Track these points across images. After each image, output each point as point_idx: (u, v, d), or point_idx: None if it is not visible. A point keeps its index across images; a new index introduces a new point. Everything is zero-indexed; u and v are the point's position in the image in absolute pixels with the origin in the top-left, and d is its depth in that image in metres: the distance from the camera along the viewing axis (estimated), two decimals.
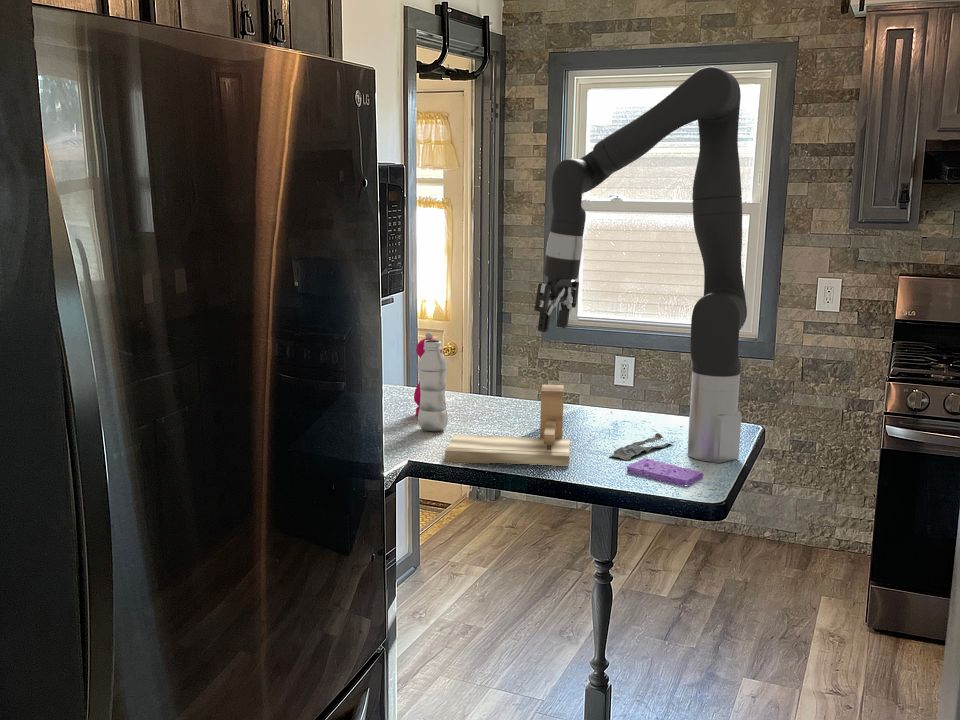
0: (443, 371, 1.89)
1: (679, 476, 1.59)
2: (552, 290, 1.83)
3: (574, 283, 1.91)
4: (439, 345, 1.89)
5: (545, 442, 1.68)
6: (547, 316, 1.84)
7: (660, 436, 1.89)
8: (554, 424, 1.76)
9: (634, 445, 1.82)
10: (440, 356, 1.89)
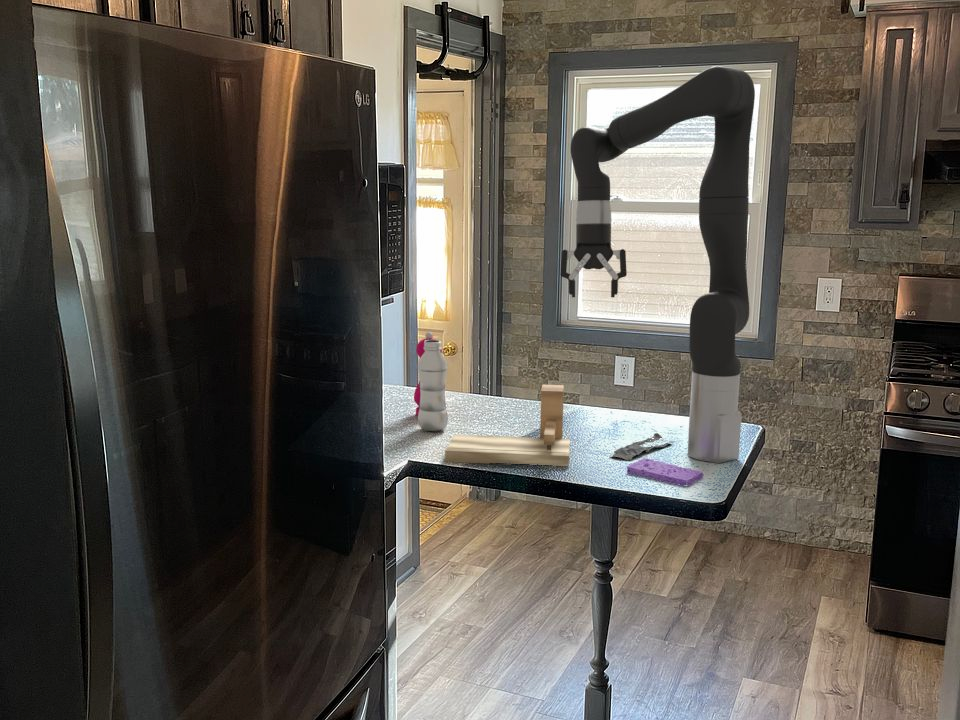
0: (443, 371, 1.89)
1: (679, 476, 1.59)
2: (575, 256, 1.90)
3: (619, 251, 1.89)
4: (439, 345, 1.89)
5: (545, 442, 1.68)
6: (571, 281, 1.90)
7: (659, 436, 1.89)
8: (554, 424, 1.76)
9: (634, 445, 1.82)
10: (440, 356, 1.89)
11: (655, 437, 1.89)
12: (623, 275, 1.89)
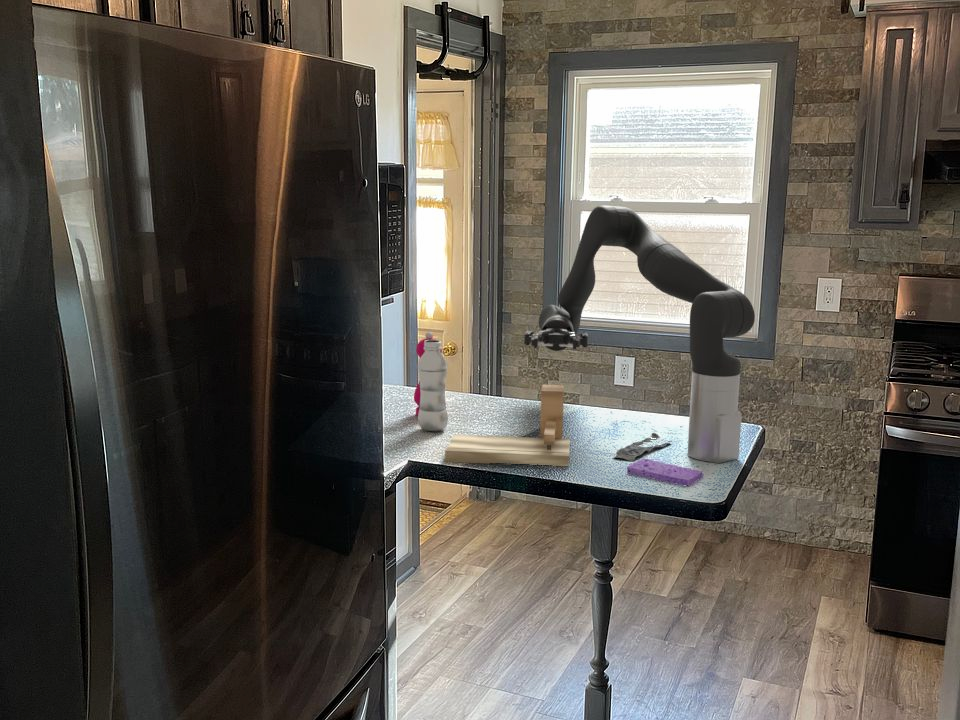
0: (443, 371, 1.89)
1: (680, 476, 1.59)
2: None
3: None
4: (439, 345, 1.89)
5: (545, 442, 1.68)
6: (534, 336, 1.95)
7: (657, 436, 1.89)
8: (554, 424, 1.76)
9: (634, 445, 1.82)
10: (440, 356, 1.89)
11: (653, 437, 1.89)
12: (584, 335, 1.95)
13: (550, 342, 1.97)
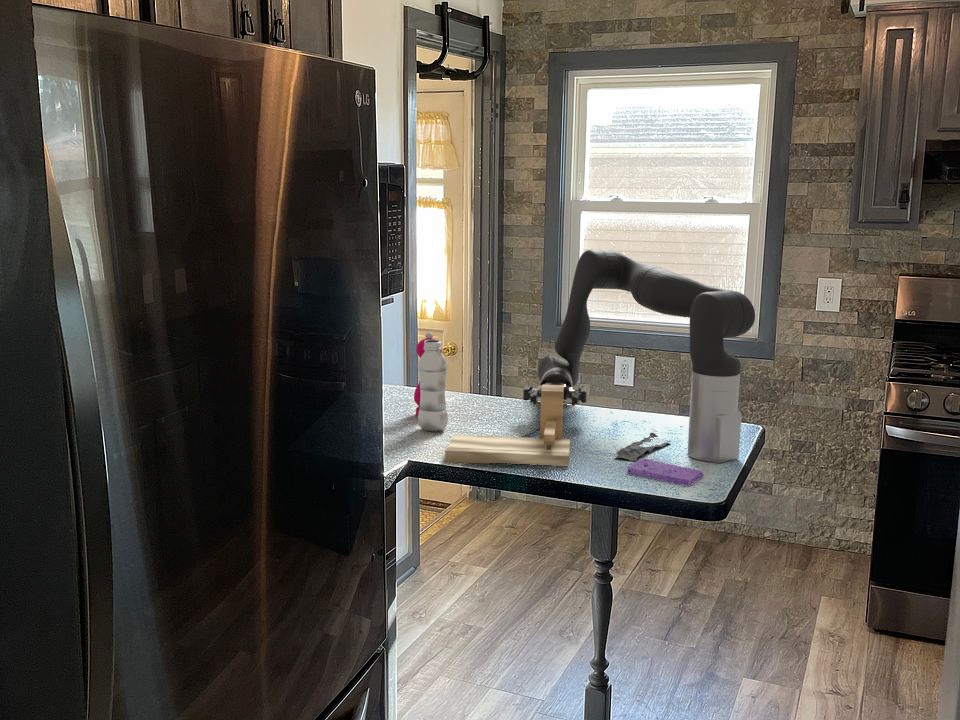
0: (443, 371, 1.89)
1: (681, 476, 1.59)
2: None
3: None
4: (439, 345, 1.89)
5: (545, 442, 1.68)
6: (533, 392, 1.96)
7: (655, 435, 1.89)
8: (554, 424, 1.76)
9: (634, 445, 1.82)
10: (440, 356, 1.89)
11: (651, 437, 1.89)
12: (583, 391, 1.96)
13: None
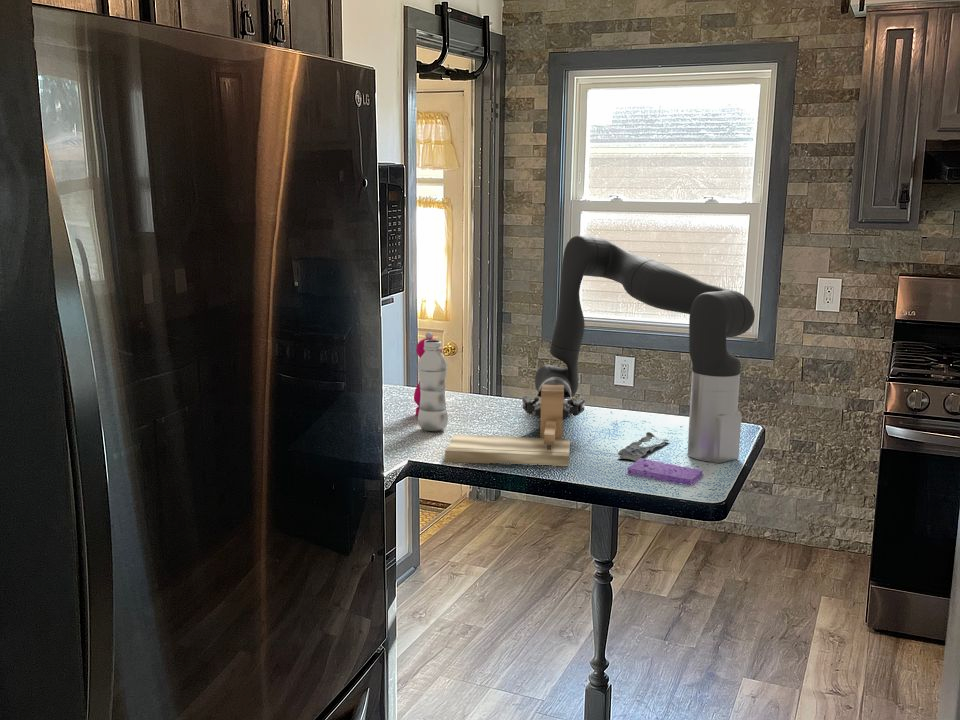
0: (443, 371, 1.89)
1: (682, 475, 1.59)
2: (536, 399, 1.89)
3: None
4: (439, 345, 1.89)
5: (545, 442, 1.68)
6: (538, 405, 1.83)
7: (652, 435, 1.90)
8: (554, 424, 1.76)
9: (633, 445, 1.82)
10: (440, 356, 1.89)
11: (648, 436, 1.89)
12: (575, 403, 1.84)
13: None
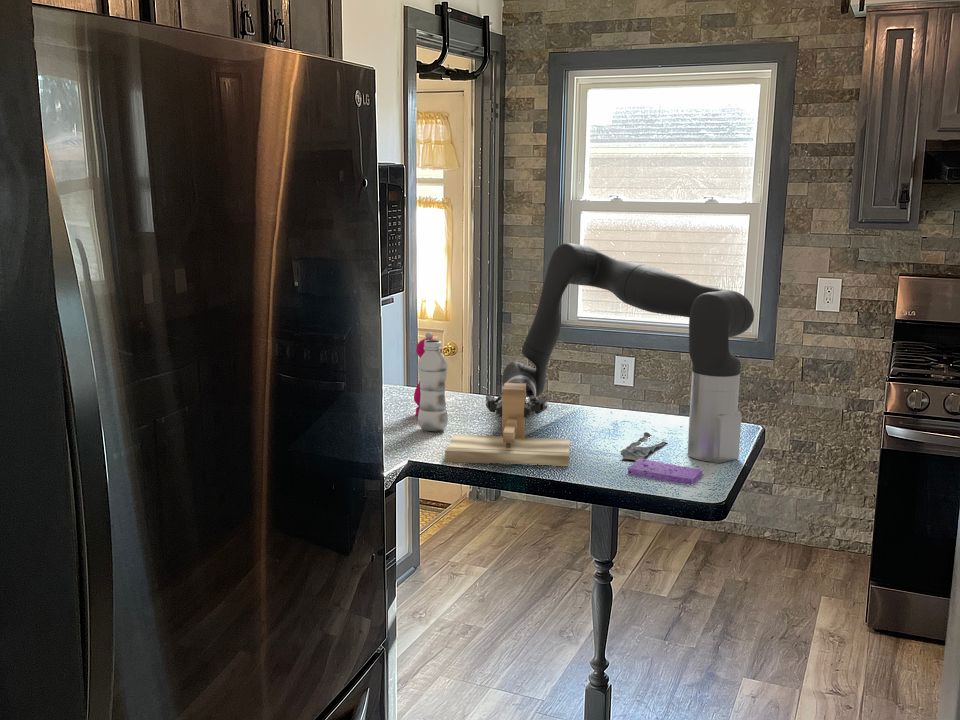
0: (443, 371, 1.89)
1: (683, 475, 1.60)
2: (499, 397, 1.90)
3: None
4: (439, 345, 1.89)
5: (504, 440, 1.69)
6: (500, 404, 1.84)
7: (649, 435, 1.90)
8: (515, 422, 1.77)
9: (633, 446, 1.82)
10: (440, 356, 1.89)
11: (646, 436, 1.89)
12: (537, 402, 1.85)
13: None
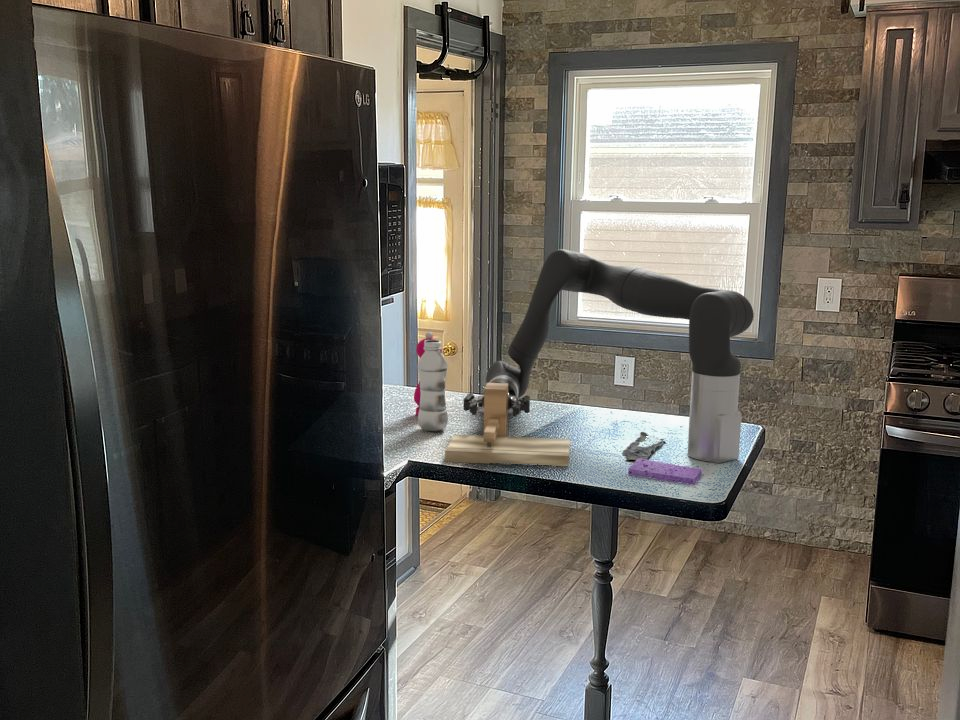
0: (443, 371, 1.89)
1: (684, 475, 1.60)
2: None
3: None
4: (439, 345, 1.89)
5: (485, 440, 1.70)
6: (473, 402, 1.86)
7: (646, 434, 1.90)
8: (496, 422, 1.77)
9: (633, 446, 1.82)
10: (440, 356, 1.89)
11: (643, 436, 1.90)
12: (526, 401, 1.86)
13: None
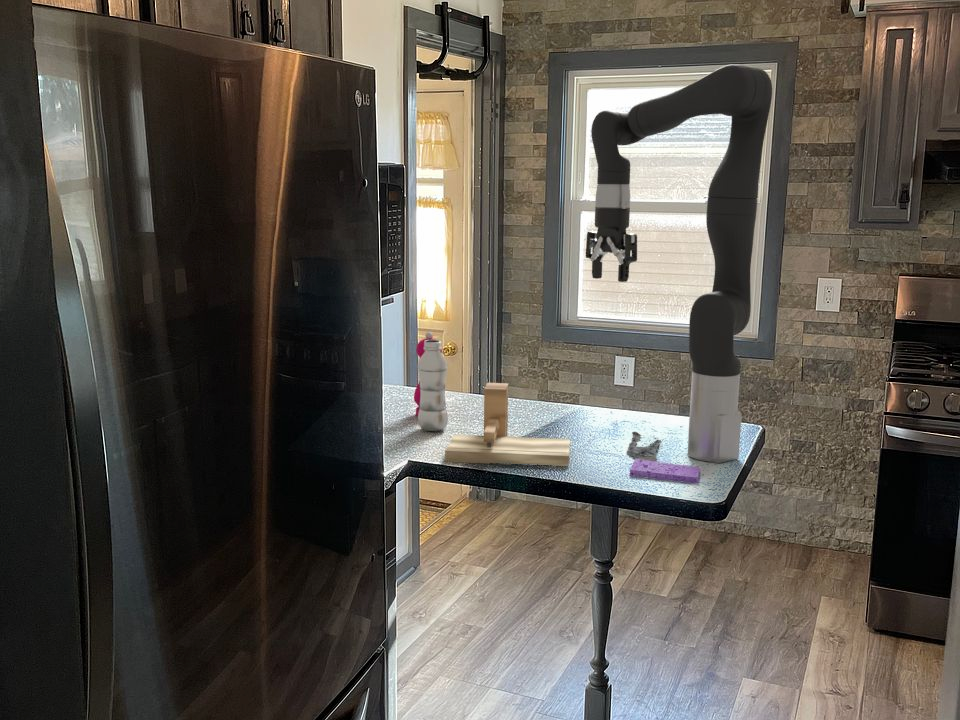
0: (443, 371, 1.89)
1: (687, 474, 1.60)
2: None
3: None
4: (439, 345, 1.89)
5: (485, 440, 1.70)
6: None
7: (638, 434, 1.90)
8: (496, 422, 1.77)
9: (633, 446, 1.81)
10: (440, 356, 1.89)
11: (636, 436, 1.90)
12: (626, 260, 1.87)
13: None
